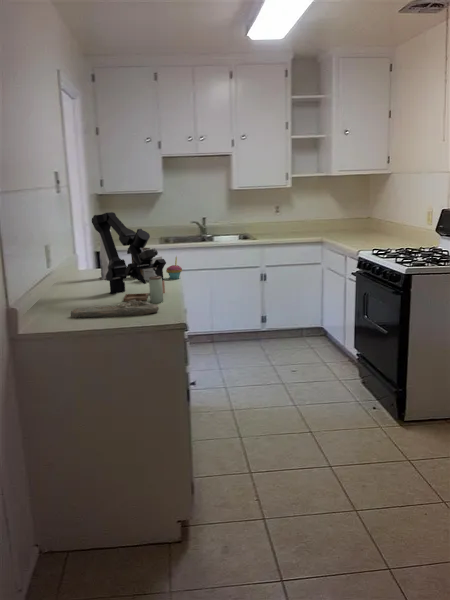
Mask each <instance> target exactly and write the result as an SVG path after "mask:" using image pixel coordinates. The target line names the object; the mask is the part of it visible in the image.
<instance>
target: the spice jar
mask: <svg viewBox="0 0 450 600" xmlns="http://www.w3.org/2000/svg"><path fill="white" fill-rule="evenodd" d="M148 282H149V284H148V286H149V298H150V299H149V300H150V302H151V303H150V302H149V303H150V304H154V303H157V304H162V303H163V302H164V293H163V288H162V278H161V276H151V277H149V281H148ZM161 302H162V303H161Z"/></svg>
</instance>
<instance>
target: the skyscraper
mask: <svg viewBox="0 0 450 600" xmlns="http://www.w3.org/2000/svg"><path fill="white" fill-rule="evenodd" d="M110 232H111V233H112V230H111V229H110ZM97 235H98V239H99V242H100V245H99V255H100V256H99V257H100V276H101V277H99V278H98V279H99V280H101V281H107V280H106V274H107V272H108V264H109V259H108V256H107V253H106V250H105V247H104V244H103V241H102V238H101V235H100V233H99V232H98V231H97Z"/></svg>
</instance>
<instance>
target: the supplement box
mask: <svg viewBox="0 0 450 600" xmlns="http://www.w3.org/2000/svg"><path fill="white" fill-rule="evenodd" d="M157 259H163V256H162V255H156V256H155V257H153V258H152V262H150V263H151V264H153V263H155V261H156V260H157ZM162 272H163V273H164V268H163V269H162ZM151 276H157V275H156V274H155V271H154V270H153V268H151V269H145V270H144V277H145V278H144V279H145V281H146V280H147V281H146V282H149V277H151Z"/></svg>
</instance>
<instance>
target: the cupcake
mask: <svg viewBox="0 0 450 600" xmlns="http://www.w3.org/2000/svg"><path fill="white" fill-rule="evenodd" d="M174 263H175V264H172V265H170V266H168V267H166V273H167V274H168V276H169V279H171V280H178V279H179V278H180V276H181V273H182V272H183V268H182V267H181V266H180V265H177V263H178V257H177V255H176V256H175V262H174Z"/></svg>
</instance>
